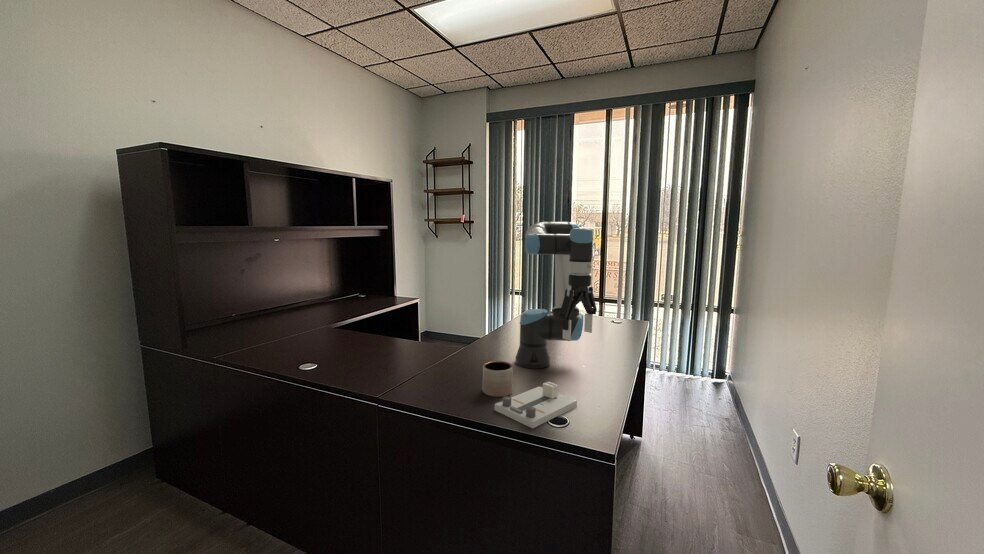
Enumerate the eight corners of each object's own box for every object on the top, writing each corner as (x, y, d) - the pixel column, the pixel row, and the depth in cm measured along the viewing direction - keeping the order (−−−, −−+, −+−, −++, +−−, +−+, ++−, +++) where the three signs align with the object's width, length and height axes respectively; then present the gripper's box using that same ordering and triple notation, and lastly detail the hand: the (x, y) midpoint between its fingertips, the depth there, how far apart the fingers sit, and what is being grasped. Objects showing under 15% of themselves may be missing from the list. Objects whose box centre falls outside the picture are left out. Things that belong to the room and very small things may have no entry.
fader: (542, 395, 131) (542, 383, 131) (548, 392, 133) (548, 381, 133) (551, 398, 128) (552, 386, 128) (557, 396, 130) (557, 384, 130)
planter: (481, 386, 144) (481, 360, 143) (510, 385, 145) (511, 360, 144) (483, 398, 134) (483, 371, 132) (514, 397, 134) (515, 370, 133)
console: (494, 410, 125) (494, 397, 124) (539, 391, 140) (539, 380, 139) (532, 428, 113) (533, 414, 113) (576, 406, 128) (577, 394, 128)
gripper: (568, 277, 121) (566, 344, 123) (608, 272, 139) (605, 331, 141) (549, 275, 126) (547, 340, 128) (589, 271, 144) (587, 327, 146)
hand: (577, 335), depth 135 cm, fingers open, 13 cm apart
